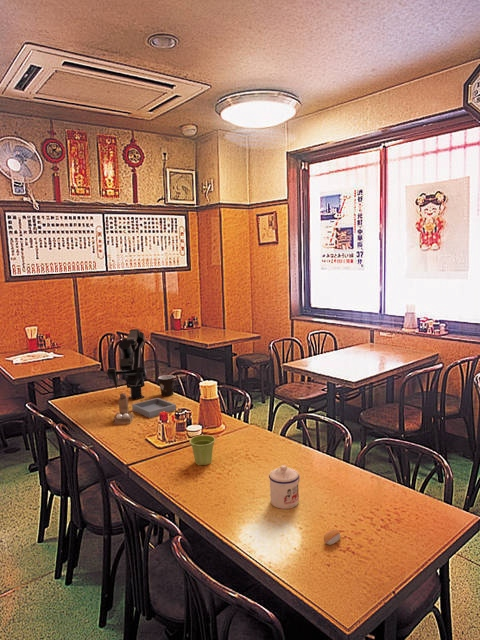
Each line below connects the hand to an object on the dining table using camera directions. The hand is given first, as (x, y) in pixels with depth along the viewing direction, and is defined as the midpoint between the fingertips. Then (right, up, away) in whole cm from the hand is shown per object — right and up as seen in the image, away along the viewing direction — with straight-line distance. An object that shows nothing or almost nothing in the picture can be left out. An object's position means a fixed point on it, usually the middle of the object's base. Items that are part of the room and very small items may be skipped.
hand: (125, 387), depth 236 cm
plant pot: (+42, -20, -57) cm, 74 cm away
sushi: (+80, -26, -108) cm, 137 cm away
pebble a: (-1, -12, -10) cm, 16 cm away
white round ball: (+2, -12, -10) cm, 16 cm away
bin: (+13, -12, +5) cm, 18 cm away
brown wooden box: (+1, -15, -8) cm, 17 cm away
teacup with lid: (+71, -23, -87) cm, 114 cm away
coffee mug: (+16, -9, +29) cm, 35 cm away
